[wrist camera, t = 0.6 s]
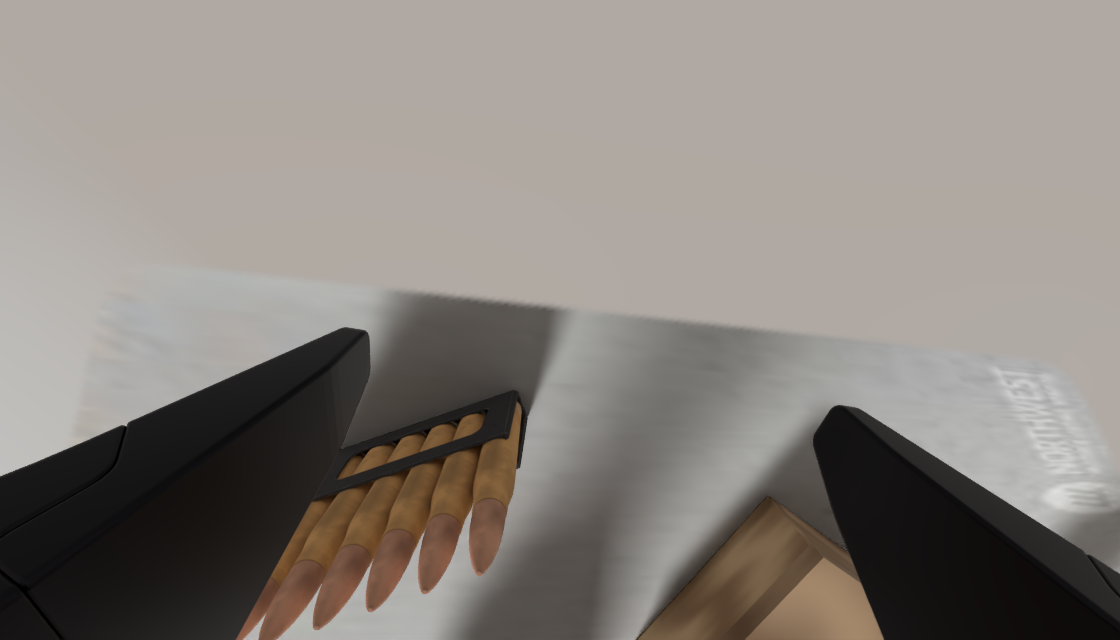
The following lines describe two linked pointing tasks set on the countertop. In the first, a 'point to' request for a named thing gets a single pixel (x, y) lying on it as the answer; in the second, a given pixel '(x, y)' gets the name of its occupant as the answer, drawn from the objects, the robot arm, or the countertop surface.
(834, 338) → the countertop surface
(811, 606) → the lid
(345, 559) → the ammunition clip
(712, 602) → the light brown wooden box
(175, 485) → the robot arm
